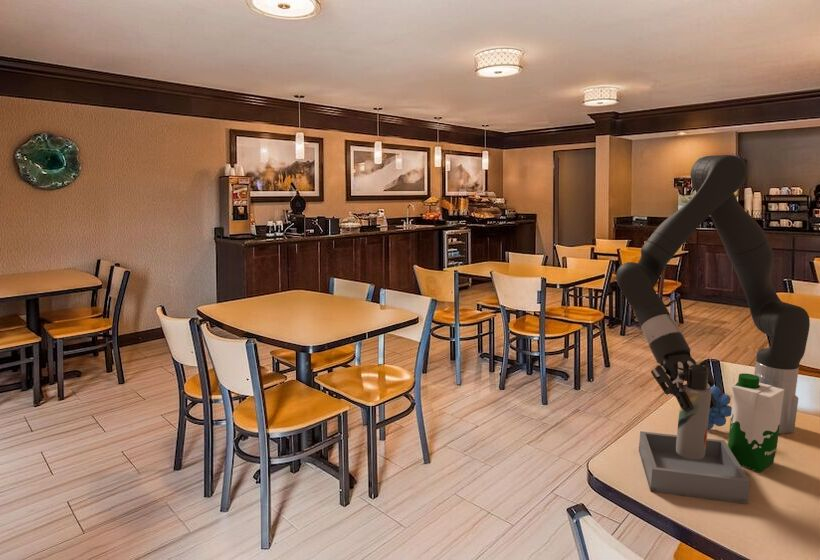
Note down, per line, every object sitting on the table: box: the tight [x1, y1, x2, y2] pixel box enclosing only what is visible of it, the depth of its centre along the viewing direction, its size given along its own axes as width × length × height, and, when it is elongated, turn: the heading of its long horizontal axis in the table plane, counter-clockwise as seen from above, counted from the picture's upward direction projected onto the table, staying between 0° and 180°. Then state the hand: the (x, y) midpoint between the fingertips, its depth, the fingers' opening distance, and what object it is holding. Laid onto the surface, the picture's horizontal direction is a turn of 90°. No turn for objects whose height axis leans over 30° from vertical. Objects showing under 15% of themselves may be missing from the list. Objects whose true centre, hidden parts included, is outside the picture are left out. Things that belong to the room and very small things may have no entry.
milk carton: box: [727, 373, 784, 473], centre depth 123 cm, size 9×9×20 cm
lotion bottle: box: [676, 364, 711, 460], centre depth 117 cm, size 6×6×20 cm
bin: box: [638, 430, 751, 505], centre depth 119 cm, size 18×18×5 cm
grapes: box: [708, 385, 732, 430], centre depth 142 cm, size 12×7×12 cm, turn 42°
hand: (700, 408), depth 115 cm, fingers closed on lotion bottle, 5 cm apart
